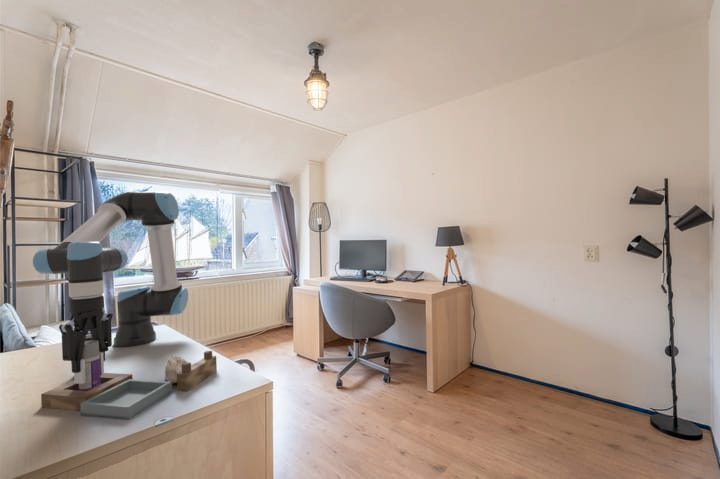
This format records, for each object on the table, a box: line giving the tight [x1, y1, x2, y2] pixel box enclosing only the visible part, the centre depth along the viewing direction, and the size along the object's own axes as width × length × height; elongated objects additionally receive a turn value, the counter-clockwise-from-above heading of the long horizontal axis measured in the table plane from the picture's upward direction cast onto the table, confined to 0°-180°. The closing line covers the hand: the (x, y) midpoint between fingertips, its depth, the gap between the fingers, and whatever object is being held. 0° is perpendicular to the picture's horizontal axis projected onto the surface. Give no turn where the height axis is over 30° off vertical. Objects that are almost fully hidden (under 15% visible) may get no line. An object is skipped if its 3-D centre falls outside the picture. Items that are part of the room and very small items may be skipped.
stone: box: [164, 355, 188, 385], centre depth 101 cm, size 8×12×10 cm, turn 33°
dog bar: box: [176, 350, 218, 392], centre depth 100 cm, size 14×3×7 cm, turn 170°
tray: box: [80, 379, 173, 420], centre depth 87 cm, size 14×14×3 cm
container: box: [79, 340, 101, 391], centre depth 92 cm, size 5×5×15 cm
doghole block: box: [40, 372, 133, 411], centre depth 92 cm, size 14×14×4 cm
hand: (89, 378), depth 92 cm, fingers closed on container, 5 cm apart
